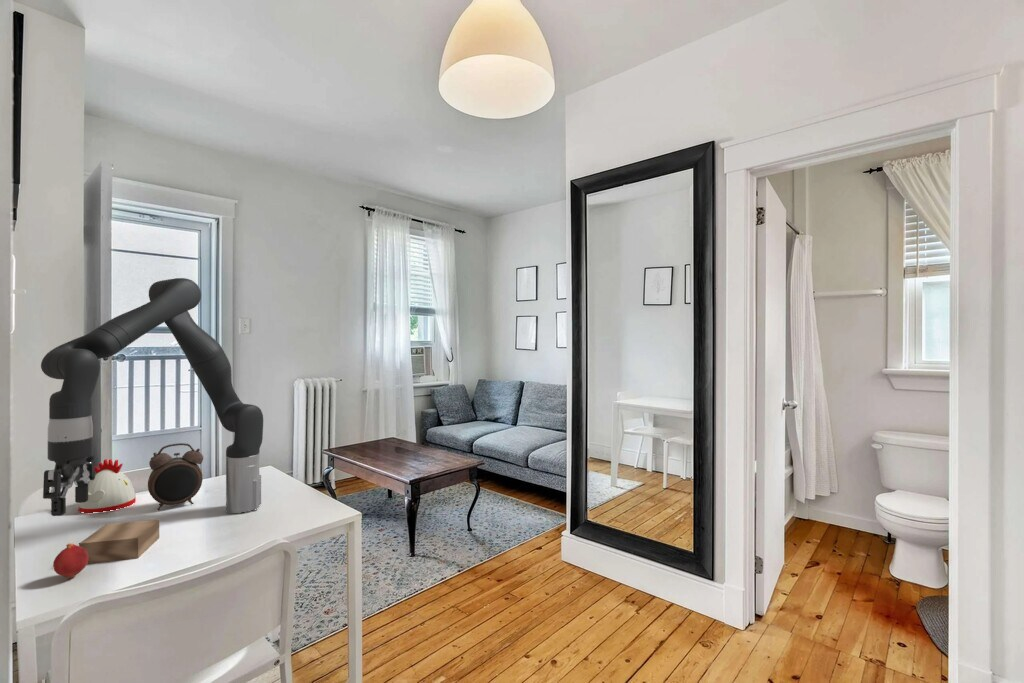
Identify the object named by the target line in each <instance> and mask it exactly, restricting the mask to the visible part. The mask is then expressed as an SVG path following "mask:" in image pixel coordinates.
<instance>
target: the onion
mask: <svg viewBox="0 0 1024 683" xmlns="http://www.w3.org/2000/svg"><path fill="white" fill-rule="evenodd" d="M88 559H89V558H88V553H87V551H86V550H85V549H84V548H82V547H80V546H79V545H77V544H75V543H73V542H69V543H67V544H66V547H65V548H64V549H62V550H61V551H60V552H59V553H57V555H56V557H55V558H54V560H53V563H52V566H53V571H54V572H55V573H56V574H57V575H60V576H62V577H65V578H67V579H72V578H74V577H75V576H77V575H78V574H79V573H81V572H82V571H83V570H84V569H85V568H86V567H87V565H88V564H89V563H88Z"/></svg>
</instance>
